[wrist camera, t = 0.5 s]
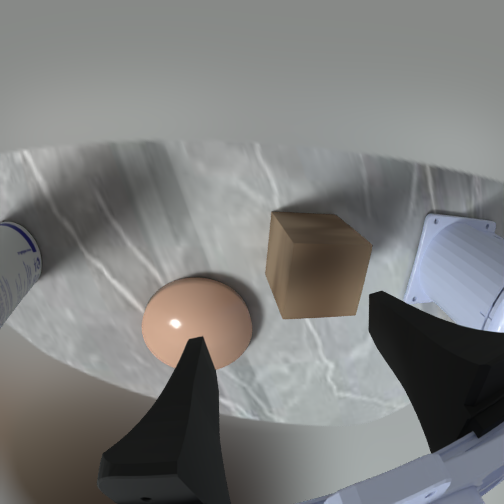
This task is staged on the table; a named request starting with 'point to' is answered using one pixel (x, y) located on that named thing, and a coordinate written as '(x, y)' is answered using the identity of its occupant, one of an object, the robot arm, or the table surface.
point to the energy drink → (16, 266)
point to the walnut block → (315, 265)
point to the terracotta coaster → (197, 320)
